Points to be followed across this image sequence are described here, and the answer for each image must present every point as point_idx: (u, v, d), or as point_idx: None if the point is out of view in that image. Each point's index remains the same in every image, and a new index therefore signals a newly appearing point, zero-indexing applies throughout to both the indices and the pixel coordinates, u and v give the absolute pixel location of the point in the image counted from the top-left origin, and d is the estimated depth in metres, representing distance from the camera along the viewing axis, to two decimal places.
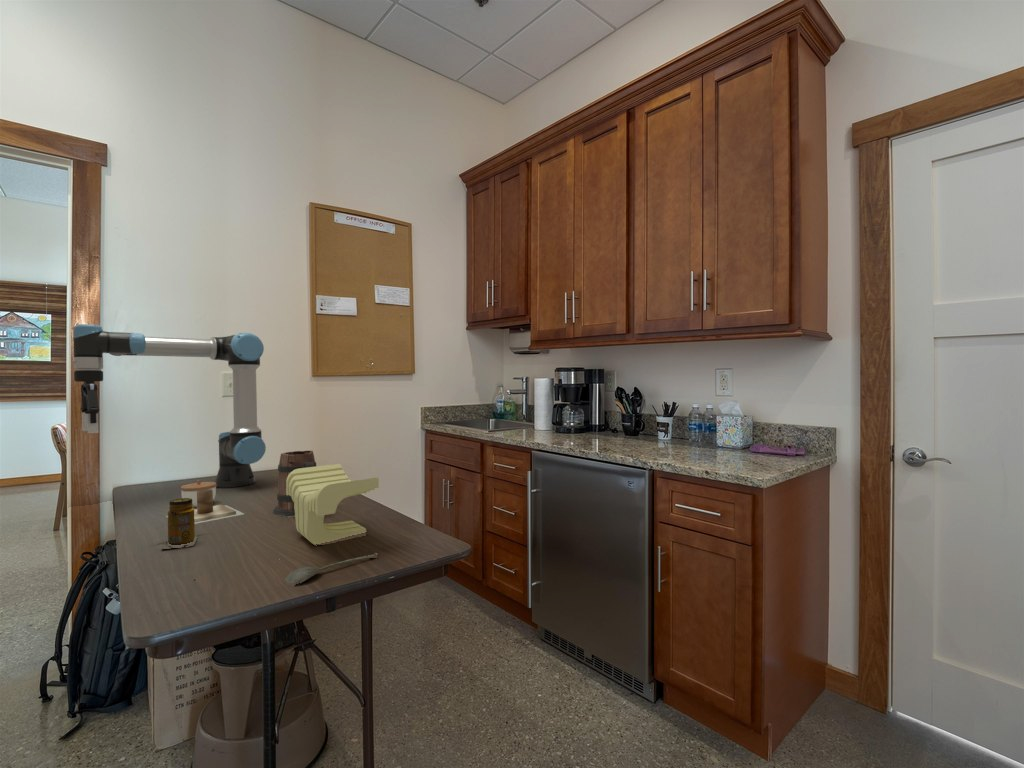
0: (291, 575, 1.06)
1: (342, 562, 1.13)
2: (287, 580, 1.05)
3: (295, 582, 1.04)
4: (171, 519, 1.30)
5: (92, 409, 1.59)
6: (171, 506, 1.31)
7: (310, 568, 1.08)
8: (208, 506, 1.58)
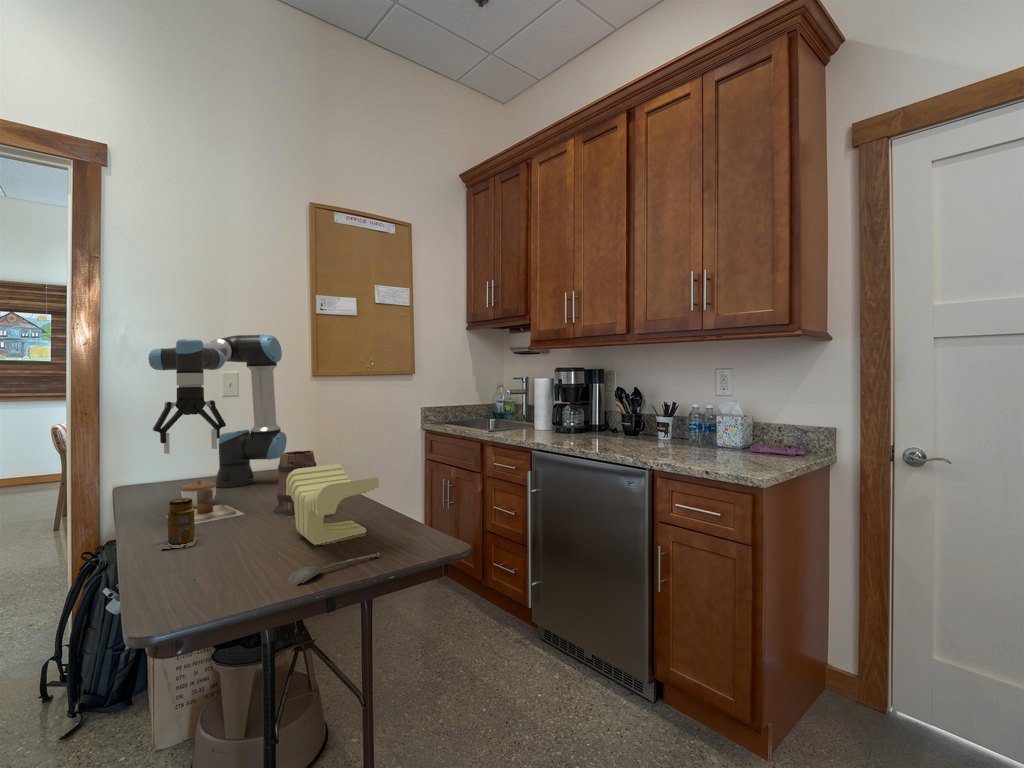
0: (293, 575, 1.06)
1: (344, 562, 1.14)
2: (289, 580, 1.05)
3: (297, 581, 1.04)
4: (171, 519, 1.30)
5: (154, 429, 1.52)
6: (171, 506, 1.31)
7: (312, 568, 1.08)
8: (208, 506, 1.58)
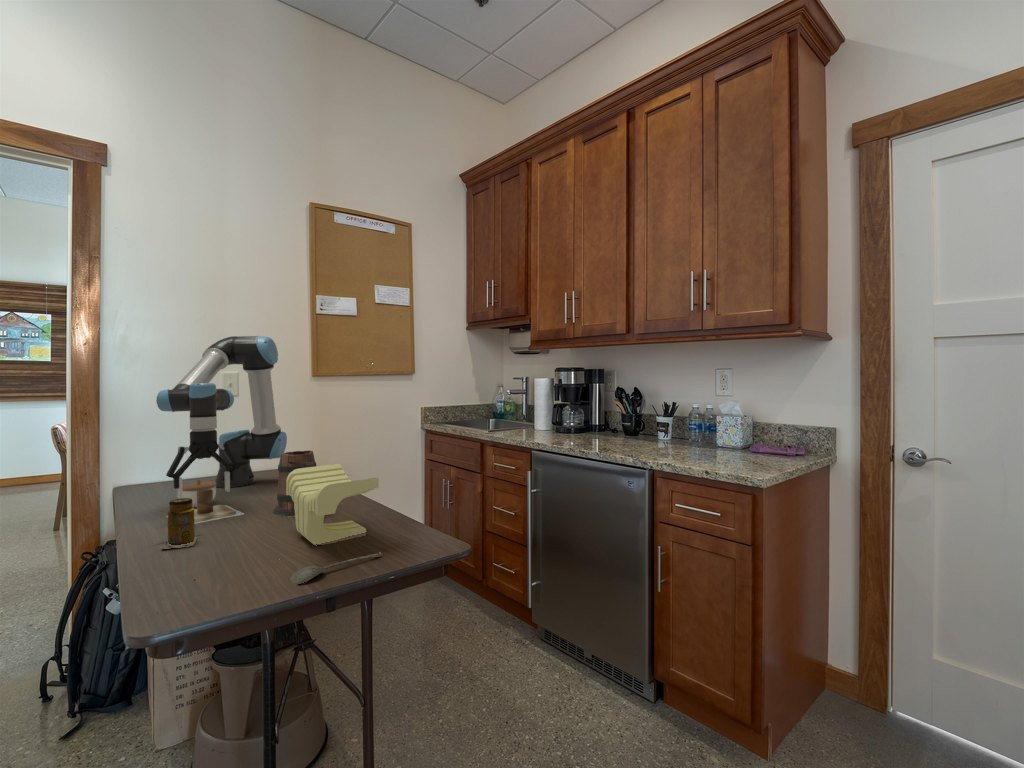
0: (295, 574, 1.06)
1: (346, 561, 1.14)
2: (292, 579, 1.05)
3: (300, 581, 1.04)
4: (171, 519, 1.30)
5: (167, 474, 1.52)
6: (171, 506, 1.31)
7: (314, 567, 1.08)
8: (208, 506, 1.58)
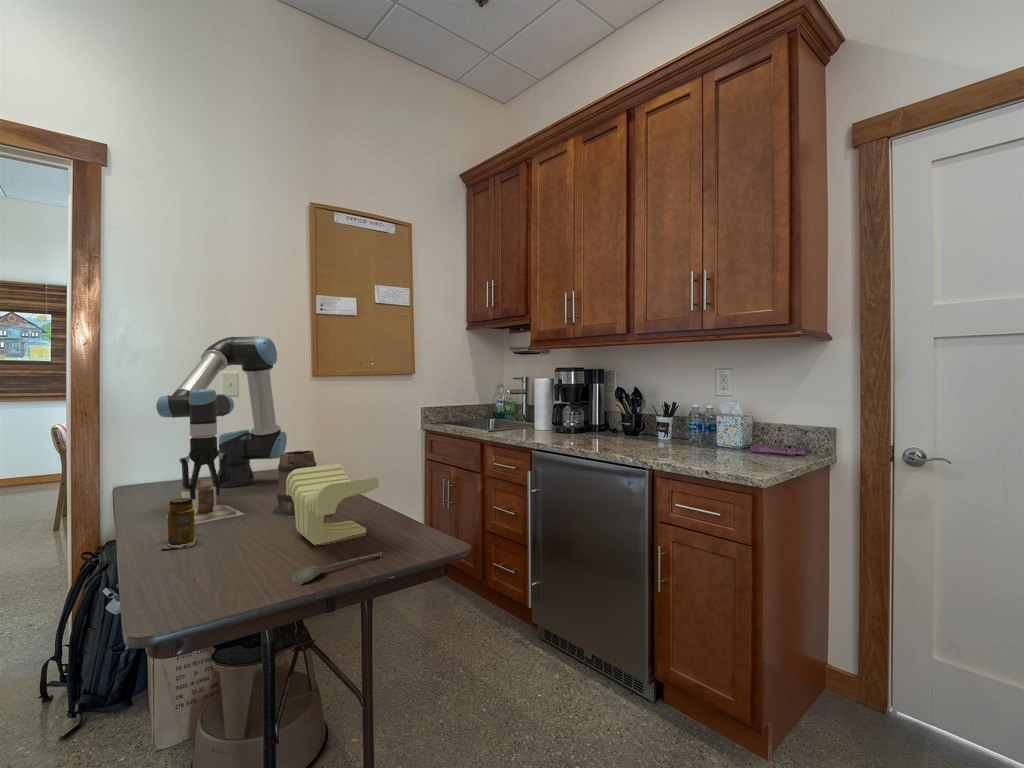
0: (297, 574, 1.06)
1: (347, 561, 1.14)
2: (293, 579, 1.05)
3: (301, 581, 1.04)
4: (171, 519, 1.30)
5: (183, 486, 1.56)
6: (171, 506, 1.31)
7: (316, 567, 1.08)
8: (208, 506, 1.58)
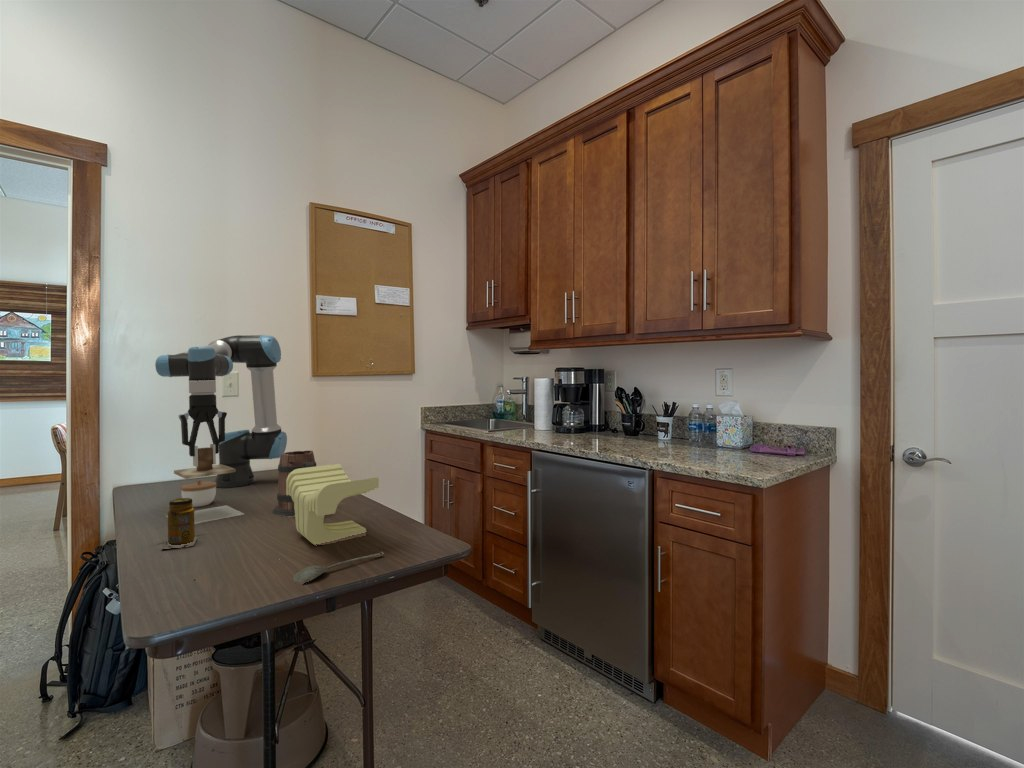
0: (299, 574, 1.06)
1: (349, 561, 1.14)
2: (295, 579, 1.06)
3: (303, 580, 1.05)
4: (171, 519, 1.30)
5: (183, 442, 1.56)
6: (171, 506, 1.31)
7: (317, 567, 1.08)
8: (207, 463, 1.58)
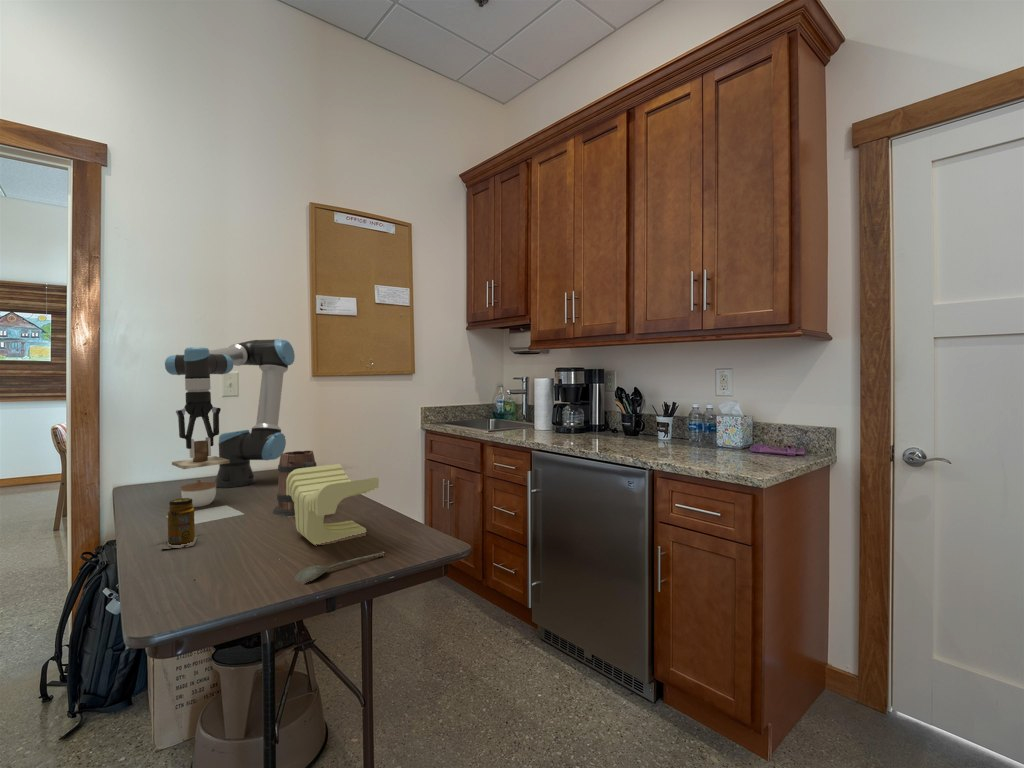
0: (300, 574, 1.07)
1: (350, 561, 1.14)
2: (297, 579, 1.06)
3: (305, 580, 1.05)
4: (171, 519, 1.30)
5: (180, 436, 1.68)
6: (171, 506, 1.31)
7: (319, 567, 1.09)
8: (203, 455, 1.71)
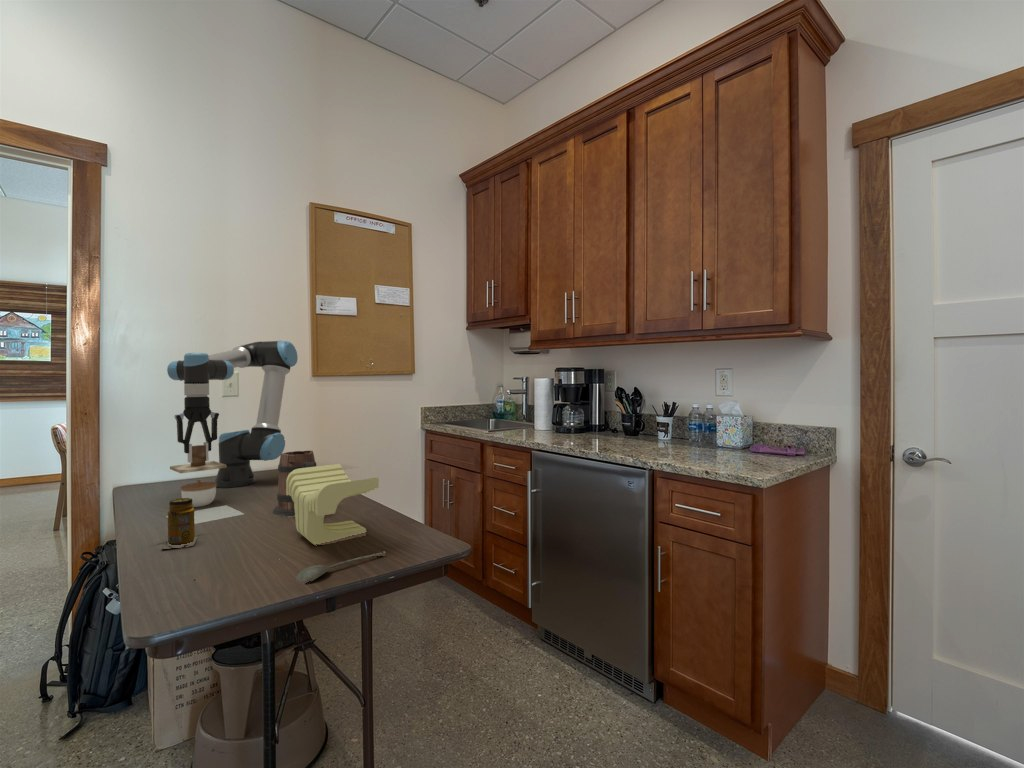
0: (301, 573, 1.07)
1: (351, 560, 1.14)
2: (298, 578, 1.06)
3: (306, 580, 1.05)
4: (171, 519, 1.30)
5: (178, 440, 1.70)
6: (171, 506, 1.31)
7: (320, 566, 1.09)
8: (200, 459, 1.72)
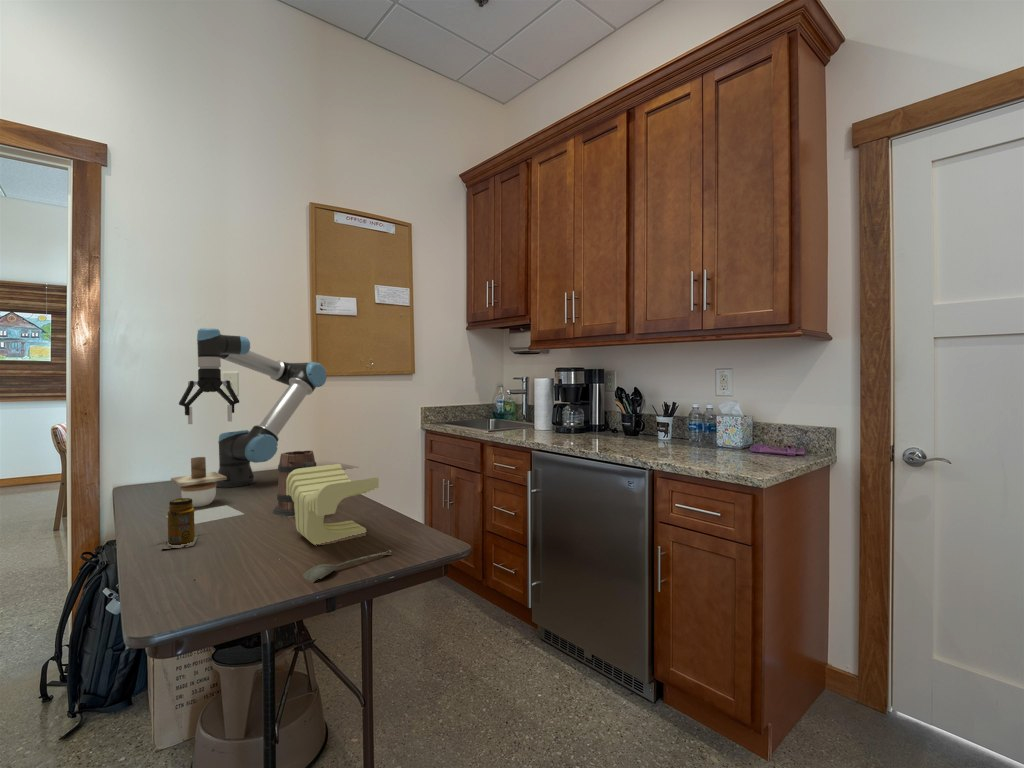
0: (308, 572, 1.07)
1: (357, 559, 1.15)
2: (305, 577, 1.06)
3: (313, 578, 1.06)
4: (171, 520, 1.30)
5: (179, 403, 1.82)
6: (171, 506, 1.31)
7: (327, 565, 1.09)
8: (201, 471, 1.73)
